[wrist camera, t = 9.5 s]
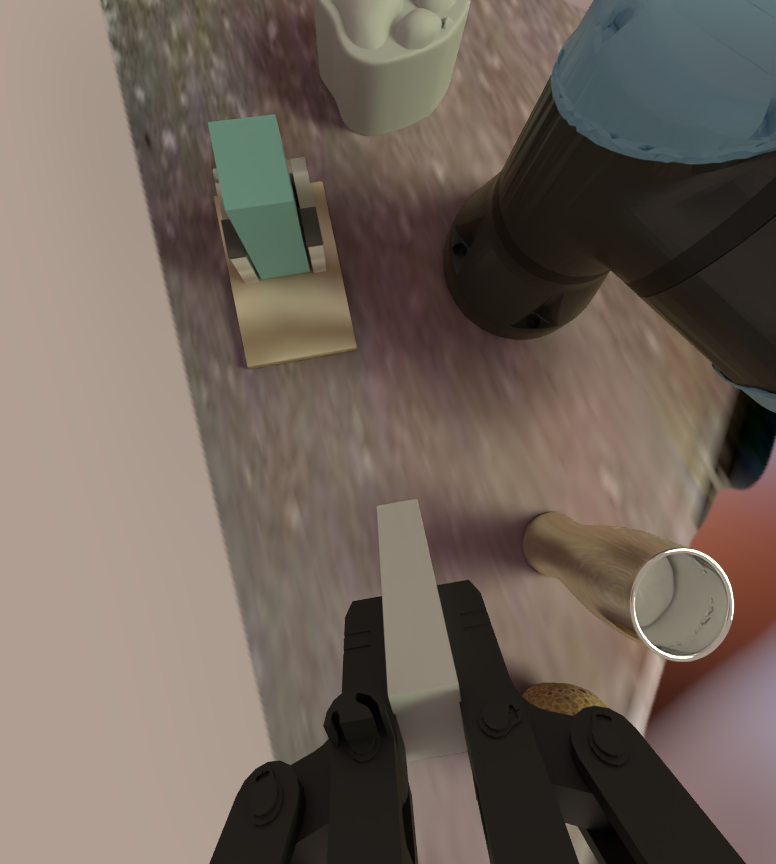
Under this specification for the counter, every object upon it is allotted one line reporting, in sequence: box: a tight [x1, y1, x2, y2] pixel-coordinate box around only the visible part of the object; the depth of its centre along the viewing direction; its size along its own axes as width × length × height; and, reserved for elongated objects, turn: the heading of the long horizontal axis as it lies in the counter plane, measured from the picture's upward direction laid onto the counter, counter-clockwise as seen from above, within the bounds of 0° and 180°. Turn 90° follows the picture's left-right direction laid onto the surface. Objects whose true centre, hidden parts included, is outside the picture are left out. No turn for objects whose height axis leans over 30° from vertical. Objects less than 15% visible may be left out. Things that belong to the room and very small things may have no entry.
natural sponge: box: [522, 683, 607, 716], centre depth 32 cm, size 9×9×10 cm
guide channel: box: [212, 157, 357, 369], centre depth 33 cm, size 16×10×6 cm, turn 12°
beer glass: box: [523, 512, 734, 662], centre depth 30 cm, size 7×7×15 cm
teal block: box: [208, 114, 310, 279], centre depth 30 cm, size 6×4×10 cm
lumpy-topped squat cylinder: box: [313, 0, 471, 136], centre depth 34 cm, size 10×13×9 cm
